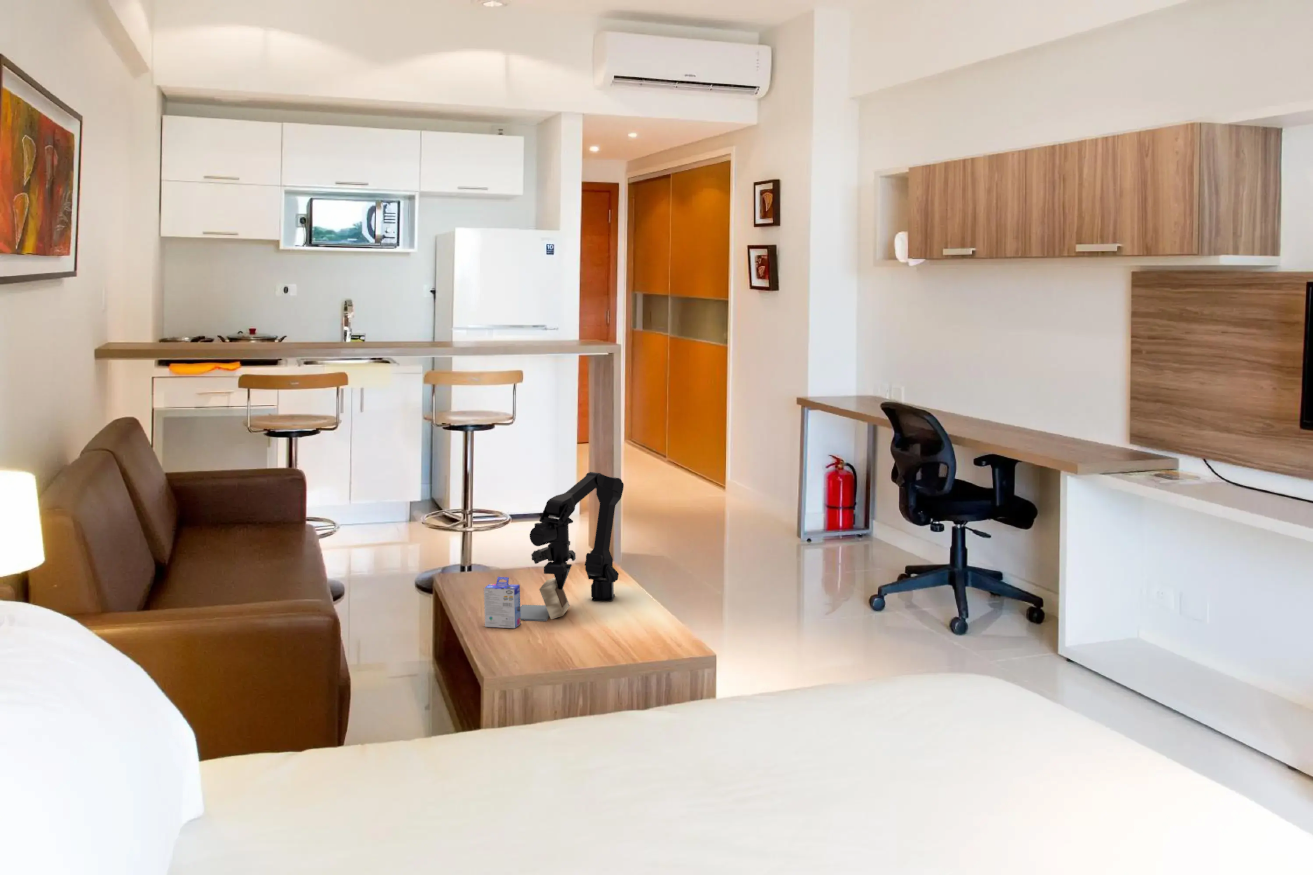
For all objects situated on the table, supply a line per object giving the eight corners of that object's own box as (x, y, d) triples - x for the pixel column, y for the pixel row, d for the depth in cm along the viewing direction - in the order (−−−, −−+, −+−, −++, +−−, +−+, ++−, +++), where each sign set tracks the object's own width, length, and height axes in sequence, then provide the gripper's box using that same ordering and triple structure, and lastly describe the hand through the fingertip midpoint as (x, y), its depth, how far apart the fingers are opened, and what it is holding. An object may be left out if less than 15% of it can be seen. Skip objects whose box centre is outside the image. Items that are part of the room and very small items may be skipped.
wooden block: (570, 605, 364) (559, 575, 363) (563, 615, 354) (552, 584, 353) (558, 609, 364) (546, 580, 363) (551, 619, 354) (539, 589, 354)
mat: (556, 607, 366) (556, 605, 366) (546, 621, 353) (546, 619, 353) (522, 606, 368) (522, 604, 368) (510, 620, 354) (510, 618, 354)
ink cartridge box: (521, 623, 351) (520, 576, 349) (516, 629, 346) (514, 581, 344) (490, 621, 353) (489, 575, 351) (484, 627, 348) (482, 580, 345)
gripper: (540, 531, 366) (541, 580, 368) (526, 546, 347) (527, 597, 350) (575, 532, 364) (576, 581, 367) (563, 547, 346) (564, 598, 348)
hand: (560, 589), depth 358 cm, fingers closed
